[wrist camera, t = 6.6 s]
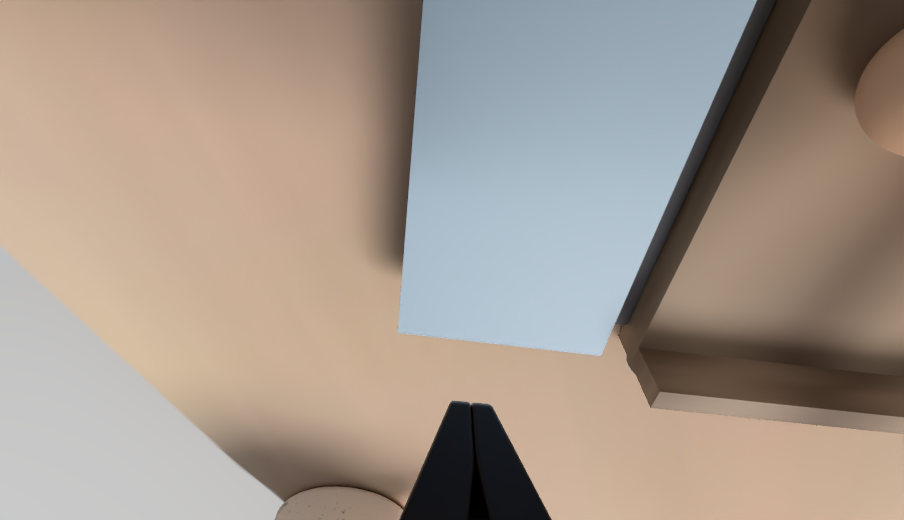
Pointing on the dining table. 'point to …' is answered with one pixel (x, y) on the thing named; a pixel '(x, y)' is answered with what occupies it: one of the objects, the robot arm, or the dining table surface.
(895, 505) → the dining table surface
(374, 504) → the teacup with lid
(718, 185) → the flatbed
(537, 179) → the tailgate
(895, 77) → the cube with rounded ends
